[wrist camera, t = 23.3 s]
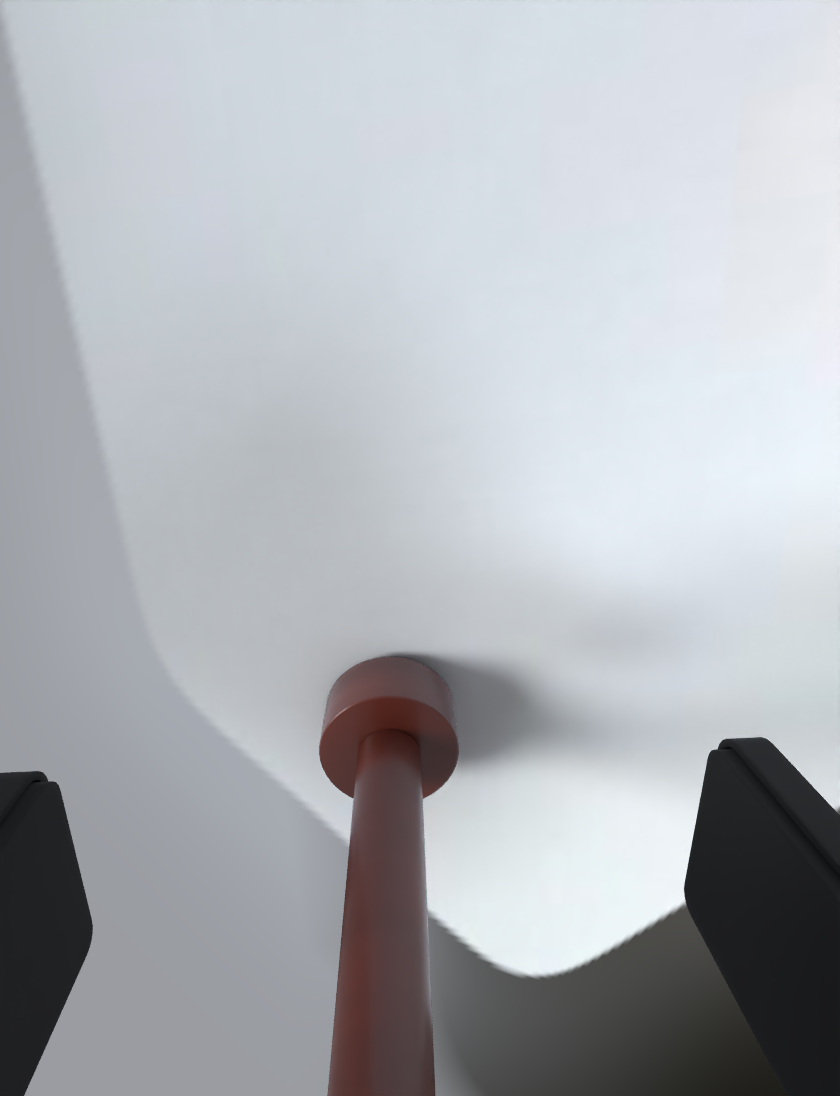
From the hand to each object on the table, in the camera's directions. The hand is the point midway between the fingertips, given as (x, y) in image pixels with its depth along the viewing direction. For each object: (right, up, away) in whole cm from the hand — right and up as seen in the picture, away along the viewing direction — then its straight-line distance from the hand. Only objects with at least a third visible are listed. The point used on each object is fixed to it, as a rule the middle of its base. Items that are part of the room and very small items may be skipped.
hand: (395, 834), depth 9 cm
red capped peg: (-1, -1, +11) cm, 11 cm away
